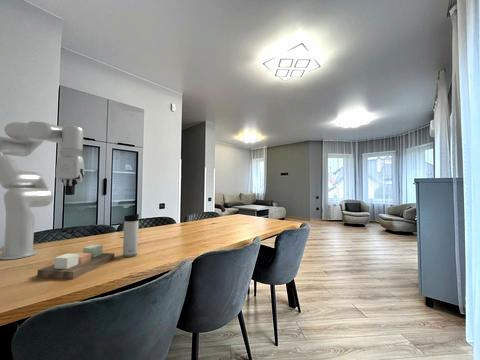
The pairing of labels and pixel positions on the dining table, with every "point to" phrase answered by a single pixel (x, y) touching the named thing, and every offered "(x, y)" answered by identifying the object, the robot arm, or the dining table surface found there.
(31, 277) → the dining table surface
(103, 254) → the walnut panel
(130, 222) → the travel mug
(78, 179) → the robot arm
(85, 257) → the terracotta key
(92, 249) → the sage key
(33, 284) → the dining table surface
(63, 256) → the cream key
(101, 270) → the dining table surface
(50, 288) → the dining table surface
